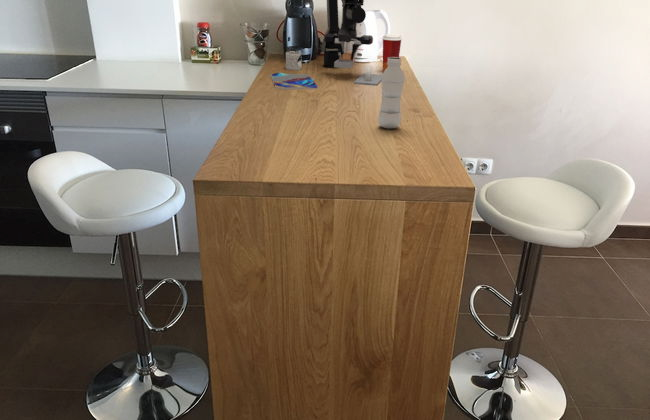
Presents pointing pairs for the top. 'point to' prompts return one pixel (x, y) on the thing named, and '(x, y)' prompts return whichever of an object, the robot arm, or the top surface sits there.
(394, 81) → the plastic bottle
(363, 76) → the keeper
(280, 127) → the top surface
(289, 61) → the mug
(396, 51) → the coffee cup
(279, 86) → the multicolored flat slab
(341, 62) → the square frame with handle
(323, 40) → the robot arm
